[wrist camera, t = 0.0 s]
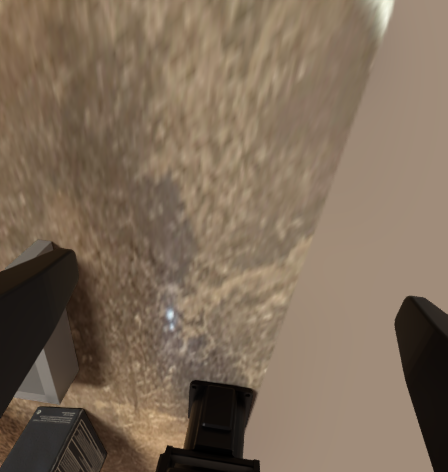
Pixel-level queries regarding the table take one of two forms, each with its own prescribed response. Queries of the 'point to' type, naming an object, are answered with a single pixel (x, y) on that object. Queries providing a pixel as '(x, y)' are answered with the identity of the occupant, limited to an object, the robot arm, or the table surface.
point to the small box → (56, 444)
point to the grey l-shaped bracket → (49, 352)
